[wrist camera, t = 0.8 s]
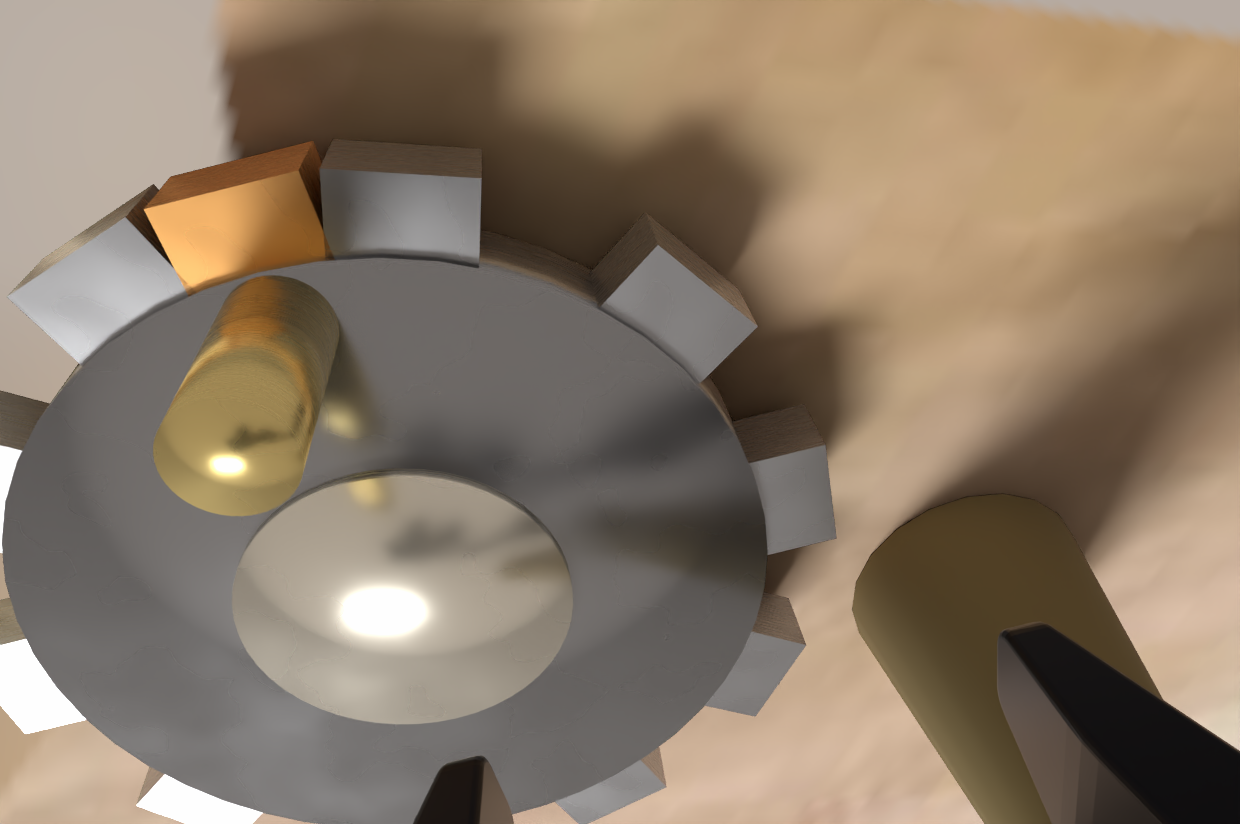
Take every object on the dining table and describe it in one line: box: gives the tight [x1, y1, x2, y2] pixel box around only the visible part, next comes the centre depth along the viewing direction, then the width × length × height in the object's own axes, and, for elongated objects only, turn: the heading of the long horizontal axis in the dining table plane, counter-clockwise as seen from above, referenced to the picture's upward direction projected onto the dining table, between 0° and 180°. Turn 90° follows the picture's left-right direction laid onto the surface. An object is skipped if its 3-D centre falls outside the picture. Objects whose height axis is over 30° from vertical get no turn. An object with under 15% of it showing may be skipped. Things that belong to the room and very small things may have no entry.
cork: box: [852, 494, 1163, 824], centre depth 21 cm, size 6×6×11 cm
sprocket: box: [0, 139, 836, 824], centre depth 20 cm, size 19×18×6 cm
